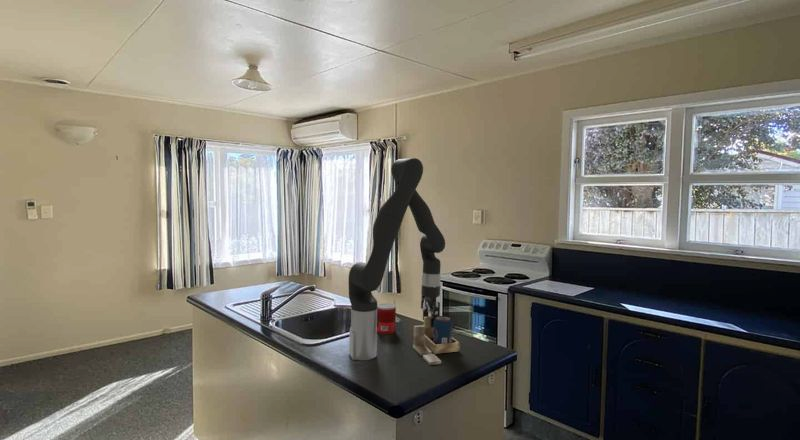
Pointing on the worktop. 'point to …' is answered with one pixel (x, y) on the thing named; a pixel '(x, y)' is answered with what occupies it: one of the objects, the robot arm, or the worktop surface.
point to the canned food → (386, 318)
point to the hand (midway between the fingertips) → (429, 323)
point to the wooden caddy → (437, 347)
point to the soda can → (442, 330)
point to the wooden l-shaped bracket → (423, 346)
